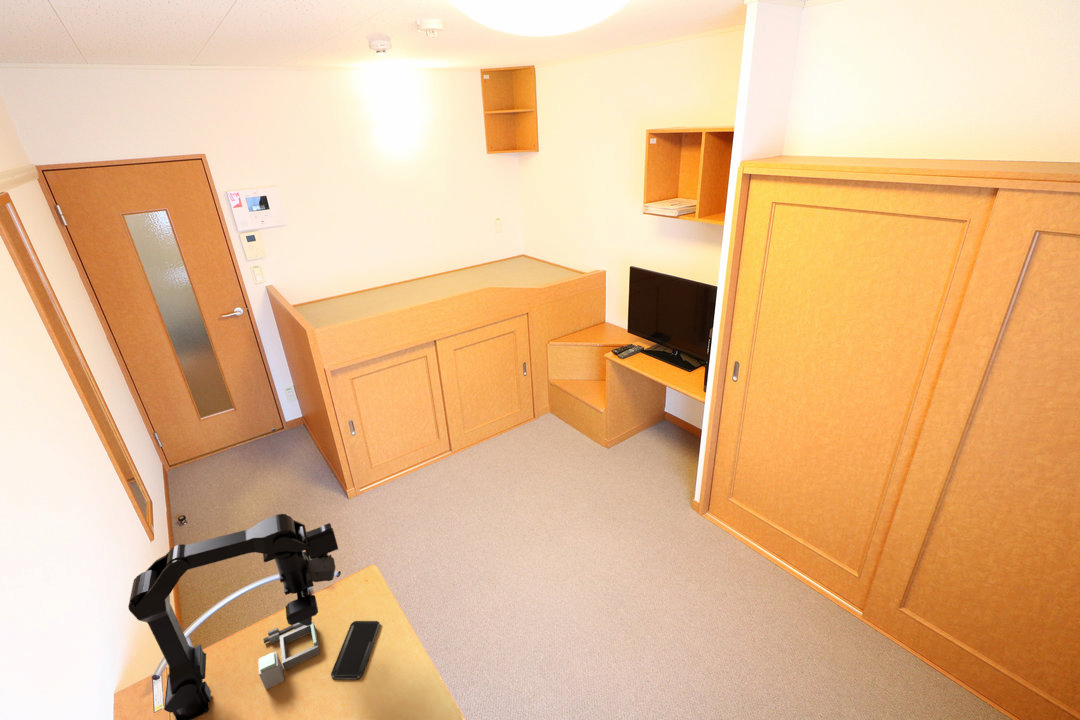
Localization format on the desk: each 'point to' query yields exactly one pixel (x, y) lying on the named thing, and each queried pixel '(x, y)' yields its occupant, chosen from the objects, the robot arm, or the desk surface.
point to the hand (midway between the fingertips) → (307, 609)
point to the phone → (355, 650)
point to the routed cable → (280, 633)
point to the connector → (270, 670)
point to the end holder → (304, 654)
